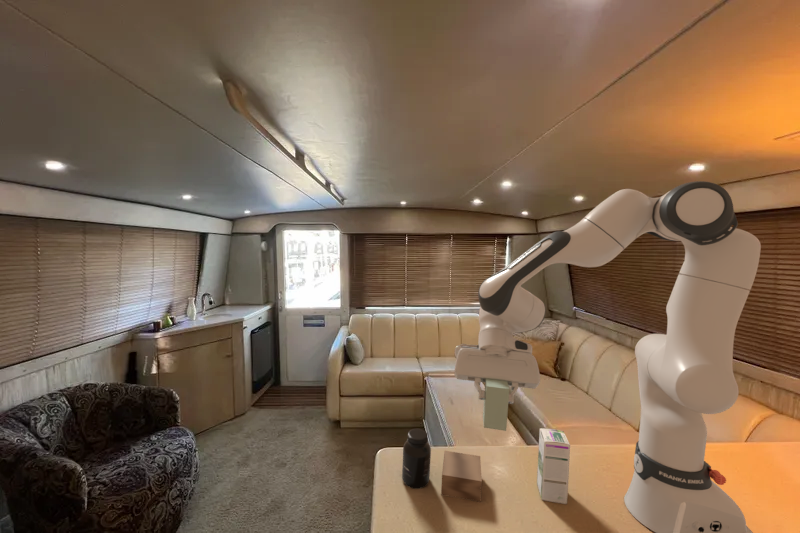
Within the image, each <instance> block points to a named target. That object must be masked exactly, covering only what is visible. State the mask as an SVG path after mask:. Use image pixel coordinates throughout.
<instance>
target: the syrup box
mask: <svg viewBox="0 0 800 533" xmlns="http://www.w3.org/2000/svg"><path fill="white" fill-rule="evenodd" d="M538 435H539V437H538V438H539V439H538V452H537V453H538V455H537V456H538V458H537V472H536V473H537V474H536V485H537V488H538V492H539V496H540V499H541V500H542V501H545V502H550V503H551V502H552V503H555V504H563V505H567V504H568V494H569V491H568V490H569V478H570V454H571V444H570V441H569V440H568V438H567V436H566V434H565V431H564V430H560V429H554V428H543V427H541V428H540V427H539V434H538Z"/></svg>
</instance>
